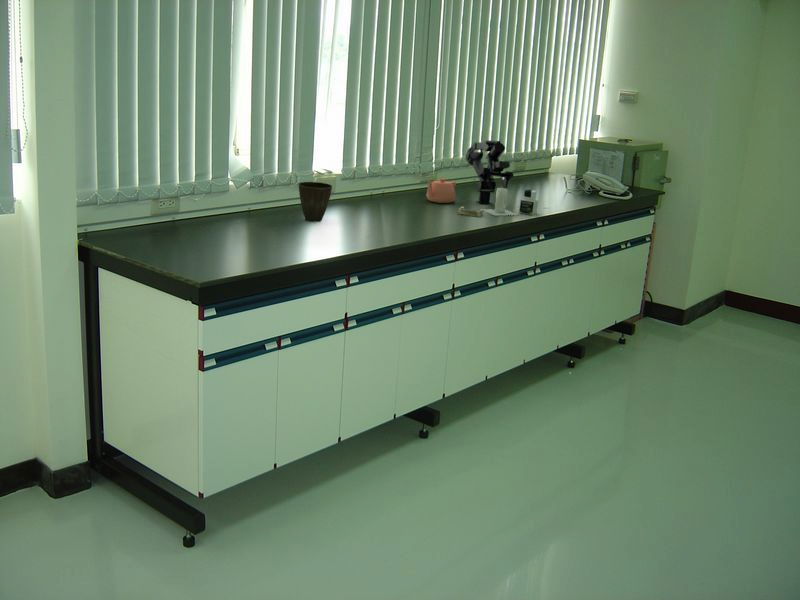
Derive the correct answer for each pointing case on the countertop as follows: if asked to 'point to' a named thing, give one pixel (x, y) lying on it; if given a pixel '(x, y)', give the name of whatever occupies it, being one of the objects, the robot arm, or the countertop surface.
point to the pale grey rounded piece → (501, 200)
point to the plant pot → (314, 199)
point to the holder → (470, 212)
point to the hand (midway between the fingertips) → (498, 188)
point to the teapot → (441, 191)
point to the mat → (491, 211)
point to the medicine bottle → (529, 203)
